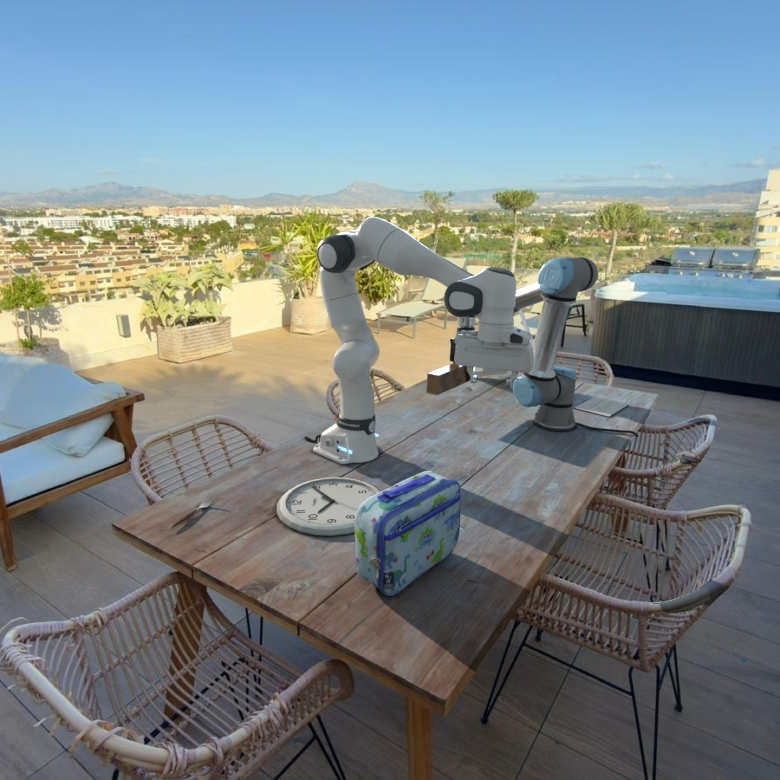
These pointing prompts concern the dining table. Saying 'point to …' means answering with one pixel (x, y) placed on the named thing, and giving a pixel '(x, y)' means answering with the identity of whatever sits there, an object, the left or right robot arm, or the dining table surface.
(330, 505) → the wall clock
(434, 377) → the bar
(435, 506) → the lunch box
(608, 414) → the invitation card
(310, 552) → the dining table surface
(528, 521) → the dining table surface
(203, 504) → the fork
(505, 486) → the dining table surface
